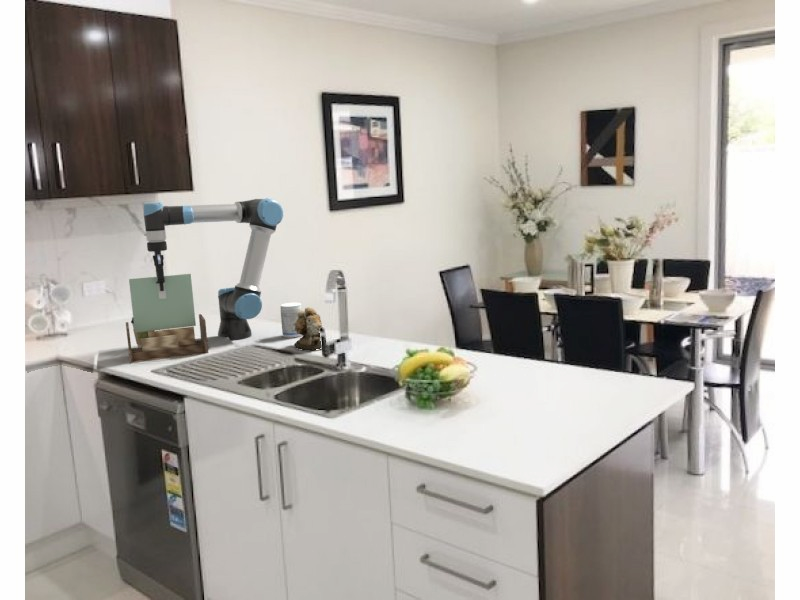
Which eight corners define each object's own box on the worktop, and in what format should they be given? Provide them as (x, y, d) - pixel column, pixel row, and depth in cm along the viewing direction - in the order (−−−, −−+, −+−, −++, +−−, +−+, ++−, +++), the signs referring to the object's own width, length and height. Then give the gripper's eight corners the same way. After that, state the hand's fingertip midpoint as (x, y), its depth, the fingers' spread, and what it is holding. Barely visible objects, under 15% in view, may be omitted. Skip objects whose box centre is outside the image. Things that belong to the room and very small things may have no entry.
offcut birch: (179, 353, 283) (177, 334, 282) (179, 354, 282) (177, 335, 281) (143, 358, 278) (140, 338, 277) (143, 358, 277) (141, 339, 275)
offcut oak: (195, 349, 288) (193, 326, 287) (196, 350, 287) (193, 327, 286) (150, 355, 282) (147, 331, 280) (150, 356, 281) (148, 332, 279)
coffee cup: (150, 353, 291) (146, 319, 289) (129, 353, 293) (125, 319, 291) (162, 348, 301) (159, 314, 298) (142, 348, 303) (138, 314, 300)
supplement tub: (290, 333, 320) (288, 302, 318) (307, 334, 316) (305, 302, 314) (278, 337, 312) (275, 305, 309) (295, 338, 308) (293, 306, 305)
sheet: (195, 325, 290) (190, 273, 286) (195, 325, 289) (190, 273, 285) (134, 332, 281) (128, 279, 277) (135, 332, 280) (128, 279, 276)
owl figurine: (286, 346, 295) (283, 307, 292) (309, 341, 302) (307, 303, 299) (309, 352, 281) (307, 311, 278) (333, 347, 289) (330, 307, 286)
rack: (204, 349, 295) (201, 314, 292) (208, 356, 282) (205, 319, 279) (129, 359, 284) (125, 322, 281) (130, 366, 271) (126, 328, 268)
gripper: (145, 240, 284) (152, 296, 288) (147, 243, 271) (153, 301, 275) (164, 239, 287) (170, 295, 291) (167, 241, 274) (173, 299, 278)
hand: (162, 298), depth 283 cm, fingers closed on sheet
